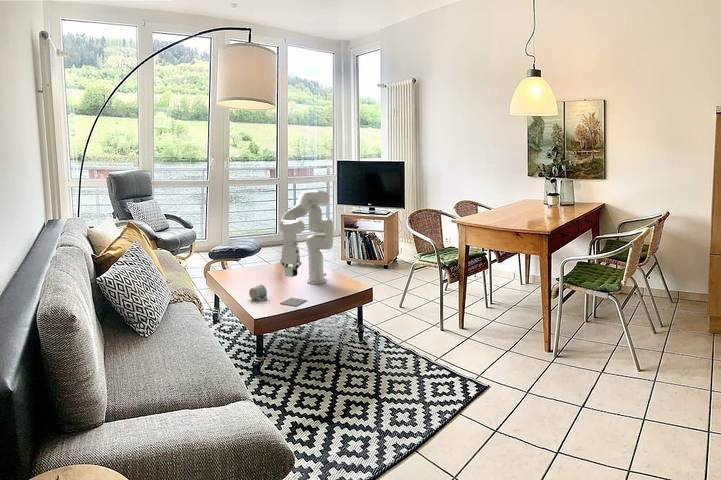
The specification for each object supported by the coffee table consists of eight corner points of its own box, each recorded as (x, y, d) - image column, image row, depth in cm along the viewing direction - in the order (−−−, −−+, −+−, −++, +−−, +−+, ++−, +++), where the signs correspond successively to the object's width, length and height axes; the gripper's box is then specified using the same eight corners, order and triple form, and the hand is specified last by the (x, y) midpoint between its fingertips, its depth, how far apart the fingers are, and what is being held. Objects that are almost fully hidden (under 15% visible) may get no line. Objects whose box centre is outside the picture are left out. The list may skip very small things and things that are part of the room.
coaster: (291, 298, 280) (291, 297, 280) (306, 300, 275) (306, 300, 275) (280, 303, 270) (280, 303, 270) (296, 306, 265) (296, 305, 265)
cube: (290, 274, 274) (289, 265, 273) (297, 275, 272) (296, 266, 271) (284, 276, 270) (284, 267, 269) (292, 277, 268) (291, 268, 267)
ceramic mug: (248, 298, 280) (247, 286, 279) (259, 295, 286) (259, 283, 285) (259, 302, 274) (258, 290, 272) (270, 299, 280) (270, 286, 278)
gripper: (306, 244, 267) (307, 275, 270) (281, 241, 275) (283, 272, 278) (298, 246, 260) (299, 278, 264) (273, 244, 268) (275, 275, 272)
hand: (291, 274), depth 271 cm, fingers closed on cube, 5 cm apart
